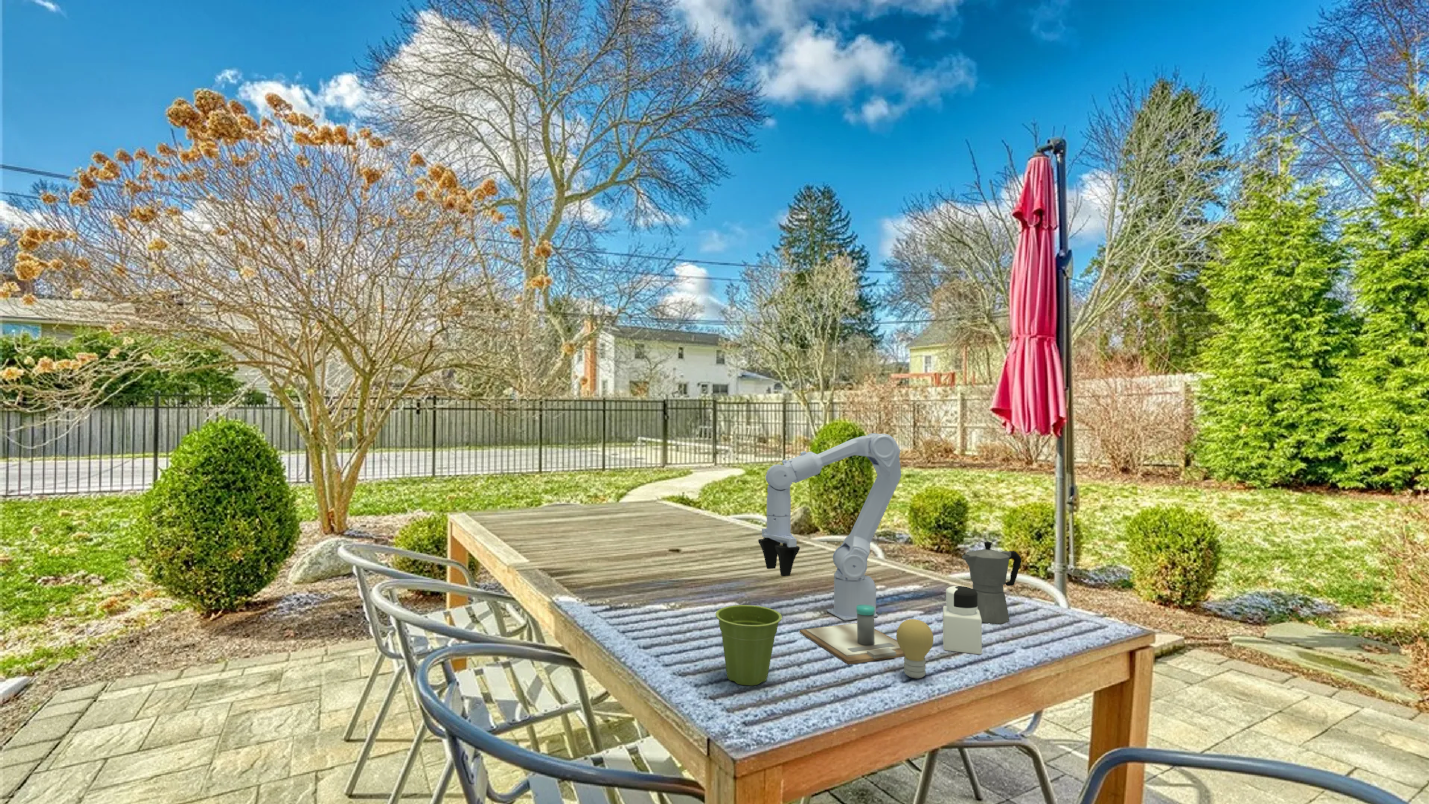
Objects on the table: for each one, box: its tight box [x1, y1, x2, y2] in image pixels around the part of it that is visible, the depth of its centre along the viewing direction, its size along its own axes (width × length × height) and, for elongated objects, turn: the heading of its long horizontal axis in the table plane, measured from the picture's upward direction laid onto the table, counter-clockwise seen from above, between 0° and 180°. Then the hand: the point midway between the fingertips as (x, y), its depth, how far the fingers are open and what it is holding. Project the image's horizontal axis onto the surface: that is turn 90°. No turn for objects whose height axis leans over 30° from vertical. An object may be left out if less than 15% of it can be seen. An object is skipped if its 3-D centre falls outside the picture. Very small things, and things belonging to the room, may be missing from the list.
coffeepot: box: [961, 541, 1022, 625], centre depth 148 cm, size 15×9×18 cm, turn 101°
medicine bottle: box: [942, 585, 983, 655], centre depth 128 cm, size 7×7×12 cm
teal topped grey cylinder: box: [856, 605, 875, 646], centre depth 127 cm, size 4×4×7 cm
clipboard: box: [799, 622, 905, 666], centre depth 129 cm, size 16×20×1 cm
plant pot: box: [715, 604, 783, 687], centre depth 111 cm, size 12×12×11 cm
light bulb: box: [896, 618, 934, 679], centre depth 113 cm, size 6×6×10 cm
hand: (778, 572), depth 149 cm, fingers open, 7 cm apart
